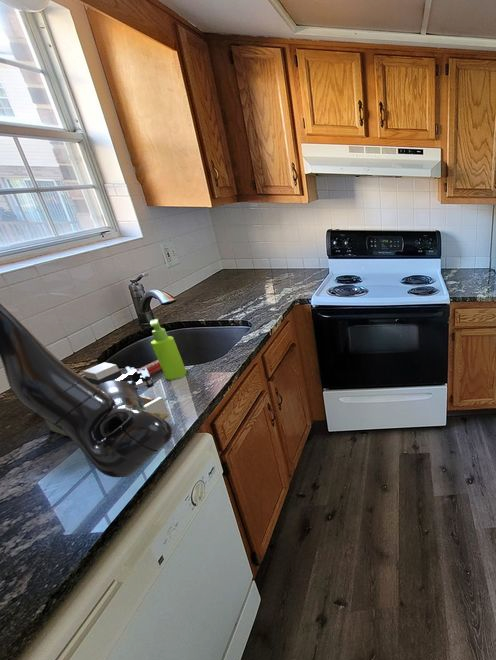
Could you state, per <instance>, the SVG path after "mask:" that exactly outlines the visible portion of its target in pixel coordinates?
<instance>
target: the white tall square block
mask: <svg viewBox="0 0 496 660" xmlns="http://www.w3.org/2000/svg"><path fill="white" fill-rule="evenodd" d="M82 373H83V375H84V376H85V377H84V378H85V379H86V380H87V381H89V382H90V383H92V384H93V385H95V386H98V385H99V384H102V383H104V382H107V381H113V380H117V379H118V378H119V377H121V376H122V375H123V374H122V372H121V370H120V369H119V367H118V365H117V364H115V363H110V362H106V361H103V362H101V363H99V364H97V365H94V366H91V367H88V368H87V369H84V370H82Z"/></svg>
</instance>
